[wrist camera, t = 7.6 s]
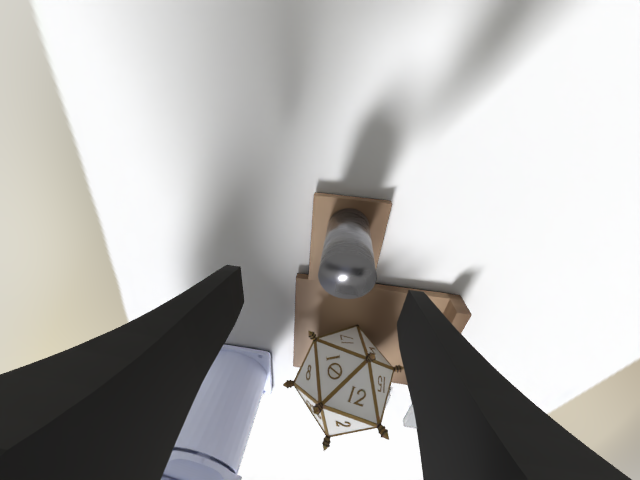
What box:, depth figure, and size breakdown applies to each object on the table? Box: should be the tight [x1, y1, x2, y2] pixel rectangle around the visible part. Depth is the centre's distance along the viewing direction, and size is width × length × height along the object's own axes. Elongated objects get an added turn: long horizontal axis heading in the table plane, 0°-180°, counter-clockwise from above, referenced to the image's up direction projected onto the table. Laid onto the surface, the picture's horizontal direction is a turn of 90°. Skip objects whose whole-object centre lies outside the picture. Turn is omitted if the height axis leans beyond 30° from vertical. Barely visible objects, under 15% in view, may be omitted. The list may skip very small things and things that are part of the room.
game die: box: [283, 324, 404, 451], centre depth 19 cm, size 9×8×10 cm
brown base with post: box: [293, 192, 471, 385], centre depth 17 cm, size 13×19×6 cm
